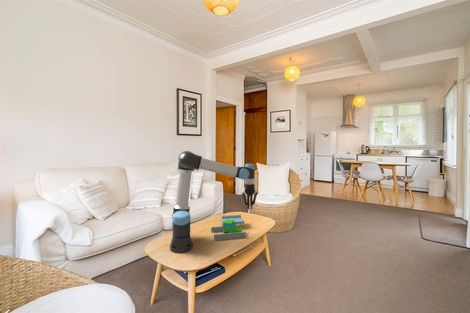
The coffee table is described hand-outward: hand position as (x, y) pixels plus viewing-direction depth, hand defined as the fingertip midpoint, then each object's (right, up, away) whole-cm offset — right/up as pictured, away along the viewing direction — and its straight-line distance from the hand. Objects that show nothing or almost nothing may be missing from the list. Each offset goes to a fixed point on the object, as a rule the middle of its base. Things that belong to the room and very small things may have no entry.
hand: (249, 213), depth 179 cm
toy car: (-13, -16, -2) cm, 21 cm away
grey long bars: (-17, -16, -3) cm, 23 cm away
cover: (-14, -15, +13) cm, 24 cm away
